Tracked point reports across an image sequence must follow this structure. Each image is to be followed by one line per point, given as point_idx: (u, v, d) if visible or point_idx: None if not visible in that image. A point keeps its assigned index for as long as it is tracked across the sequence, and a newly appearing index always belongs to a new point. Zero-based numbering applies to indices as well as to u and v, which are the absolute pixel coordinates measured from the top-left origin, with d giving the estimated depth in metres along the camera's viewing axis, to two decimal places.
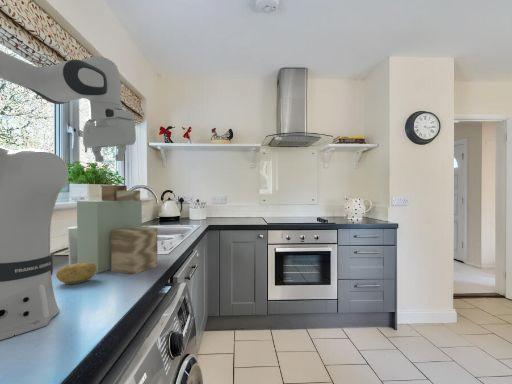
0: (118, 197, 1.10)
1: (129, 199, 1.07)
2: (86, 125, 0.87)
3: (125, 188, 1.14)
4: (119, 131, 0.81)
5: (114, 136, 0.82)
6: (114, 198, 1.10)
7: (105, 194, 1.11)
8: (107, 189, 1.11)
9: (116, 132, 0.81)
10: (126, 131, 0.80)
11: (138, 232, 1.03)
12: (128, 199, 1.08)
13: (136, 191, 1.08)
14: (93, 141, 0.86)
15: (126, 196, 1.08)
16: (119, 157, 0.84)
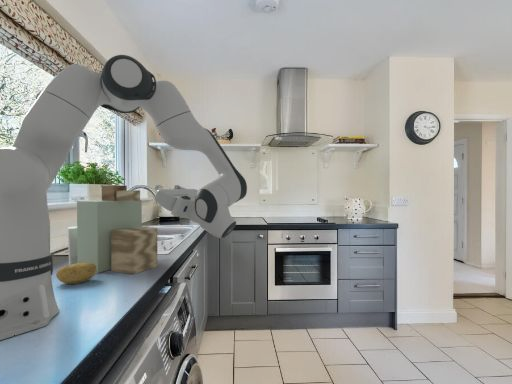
0: (118, 197, 1.10)
1: (129, 199, 1.07)
2: None
3: (125, 188, 1.14)
4: (169, 194, 0.91)
5: (171, 192, 0.93)
6: (114, 198, 1.10)
7: (105, 194, 1.11)
8: (107, 189, 1.11)
9: (171, 193, 0.92)
10: (163, 196, 0.89)
11: (138, 232, 1.03)
12: (128, 199, 1.08)
13: (136, 191, 1.08)
14: (188, 190, 1.03)
15: (126, 196, 1.08)
16: (157, 186, 0.96)
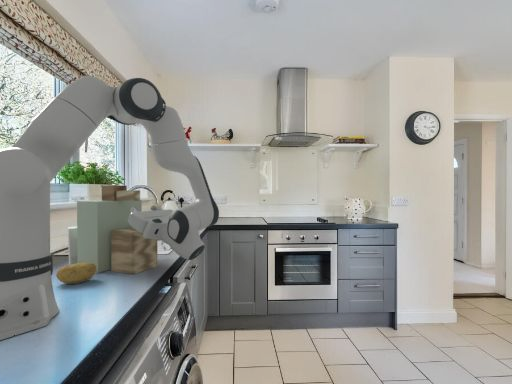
0: (118, 197, 1.10)
1: (129, 199, 1.07)
2: None
3: (125, 188, 1.14)
4: (141, 216, 0.96)
5: (144, 214, 0.99)
6: (114, 198, 1.10)
7: (105, 194, 1.11)
8: (107, 189, 1.11)
9: (144, 216, 0.97)
10: (135, 219, 0.94)
11: (138, 232, 1.03)
12: (128, 199, 1.08)
13: (136, 191, 1.08)
14: (163, 211, 1.08)
15: (126, 196, 1.08)
16: (133, 208, 1.01)
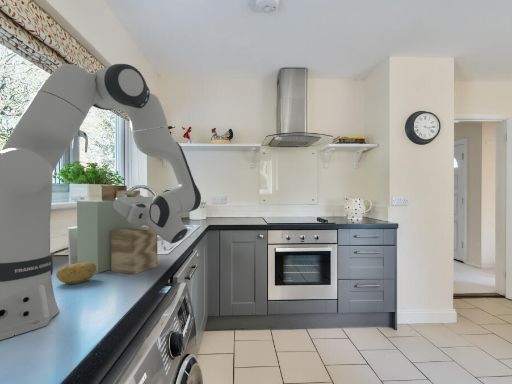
0: None
1: None
2: None
3: (125, 188, 1.14)
4: (126, 201, 0.99)
5: (129, 200, 1.02)
6: (114, 198, 1.10)
7: (105, 194, 1.11)
8: (107, 189, 1.11)
9: (129, 201, 1.01)
10: (120, 203, 0.98)
11: (138, 232, 1.03)
12: None
13: (136, 191, 1.08)
14: (149, 198, 1.11)
15: None
16: (123, 194, 1.07)
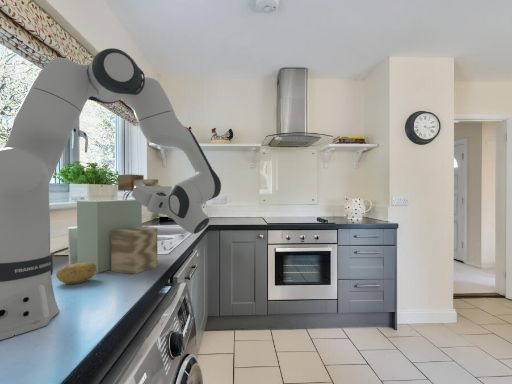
0: None
1: None
2: None
3: (142, 178, 1.10)
4: (145, 190, 0.95)
5: (148, 188, 0.98)
6: (132, 188, 1.06)
7: (122, 183, 1.07)
8: (124, 178, 1.07)
9: (148, 190, 0.97)
10: (139, 192, 0.94)
11: (138, 232, 1.03)
12: None
13: (154, 180, 1.04)
14: (167, 187, 1.07)
15: None
16: (141, 183, 1.02)
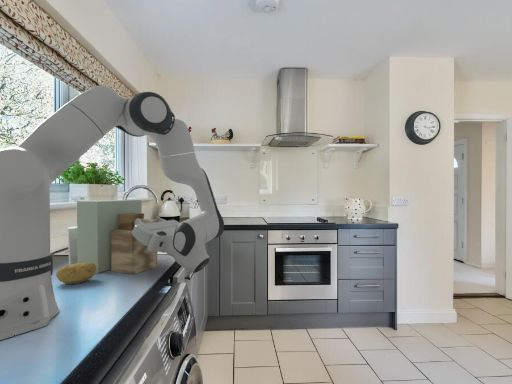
0: None
1: None
2: None
3: (142, 216, 1.10)
4: (146, 229, 0.95)
5: (148, 226, 0.98)
6: (132, 228, 1.06)
7: (123, 223, 1.07)
8: (125, 218, 1.07)
9: (148, 228, 0.97)
10: (139, 231, 0.94)
11: None
12: None
13: (155, 221, 1.04)
14: (167, 222, 1.07)
15: None
16: (138, 220, 1.01)
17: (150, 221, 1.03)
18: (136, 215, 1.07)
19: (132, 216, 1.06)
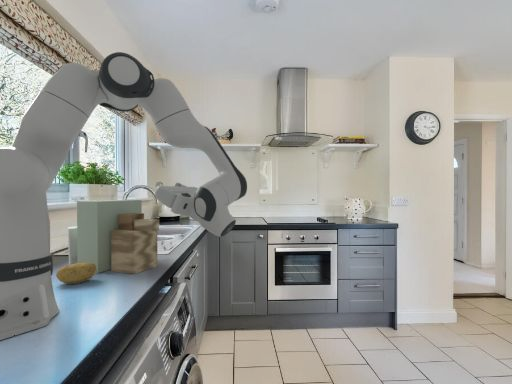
0: (136, 226, 1.06)
1: (148, 229, 1.03)
2: None
3: (142, 216, 1.10)
4: (169, 190, 0.91)
5: (171, 189, 0.93)
6: (132, 228, 1.06)
7: (123, 223, 1.07)
8: (125, 218, 1.07)
9: (172, 190, 0.92)
10: (163, 192, 0.89)
11: (138, 232, 1.03)
12: (147, 229, 1.03)
13: (155, 221, 1.04)
14: (189, 188, 1.02)
15: (144, 226, 1.04)
16: (158, 183, 0.96)
17: (150, 221, 1.03)
18: (136, 215, 1.07)
19: (132, 216, 1.06)
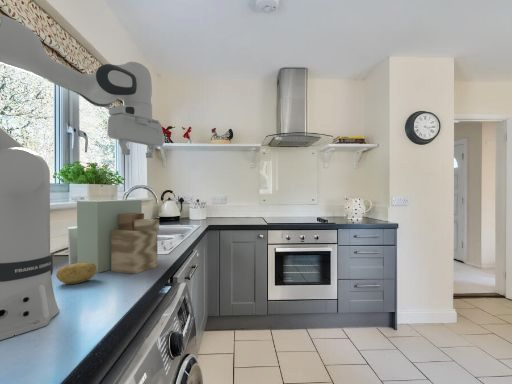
0: (136, 226, 1.06)
1: (148, 229, 1.03)
2: None
3: (142, 216, 1.10)
4: None
5: None
6: (132, 228, 1.06)
7: (123, 223, 1.07)
8: (125, 218, 1.07)
9: None
10: (108, 126, 0.85)
11: (138, 232, 1.03)
12: (147, 229, 1.03)
13: (155, 221, 1.04)
14: None
15: (144, 226, 1.04)
16: (122, 151, 0.89)
17: (150, 221, 1.03)
18: (136, 215, 1.07)
19: (132, 216, 1.06)
